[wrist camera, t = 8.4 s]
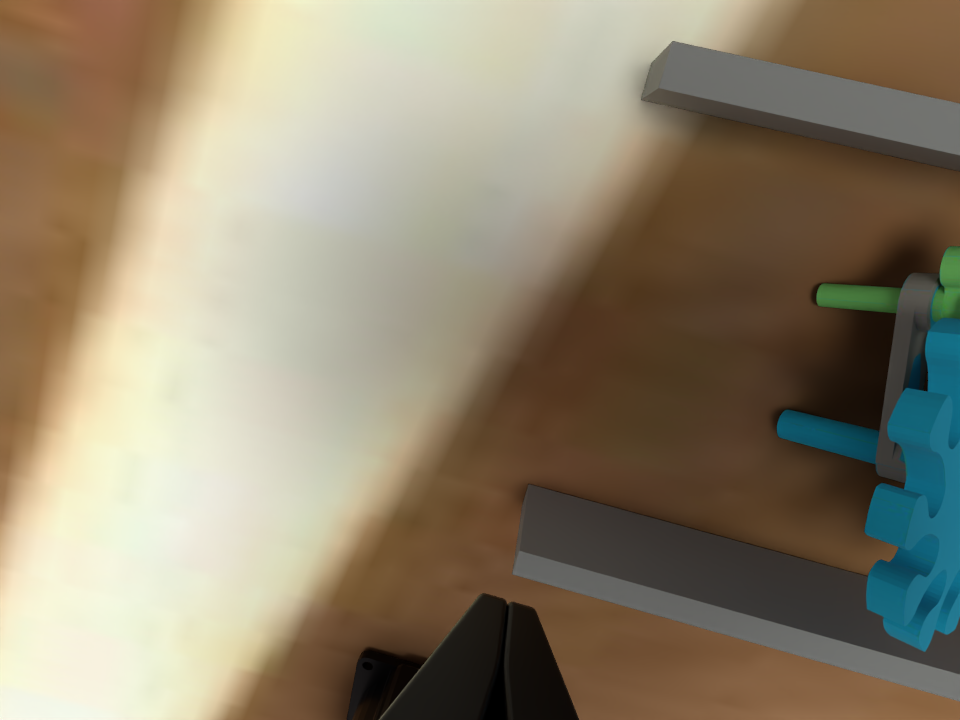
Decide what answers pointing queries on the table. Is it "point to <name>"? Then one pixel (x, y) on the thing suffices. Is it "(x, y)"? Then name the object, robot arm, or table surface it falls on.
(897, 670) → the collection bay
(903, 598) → the gear
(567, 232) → the table surface
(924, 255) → the table surface
